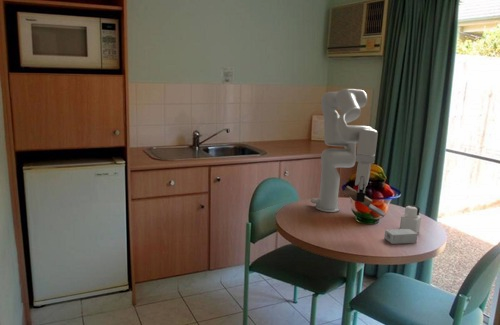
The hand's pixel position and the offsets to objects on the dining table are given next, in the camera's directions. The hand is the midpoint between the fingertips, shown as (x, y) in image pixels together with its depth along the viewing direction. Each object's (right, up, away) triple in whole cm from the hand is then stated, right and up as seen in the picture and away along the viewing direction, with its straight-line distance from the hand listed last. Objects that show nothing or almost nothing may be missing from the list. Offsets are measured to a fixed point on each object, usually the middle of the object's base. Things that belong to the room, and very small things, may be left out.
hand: (360, 200), depth 181 cm
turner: (+1, -1, 0) cm, 2 cm away
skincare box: (+11, -16, 0) cm, 19 cm away
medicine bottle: (+26, -16, +14) cm, 33 cm away
